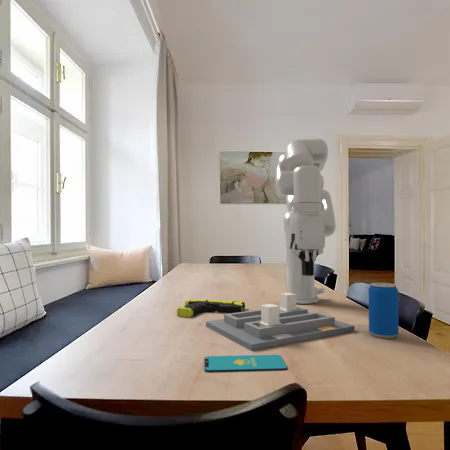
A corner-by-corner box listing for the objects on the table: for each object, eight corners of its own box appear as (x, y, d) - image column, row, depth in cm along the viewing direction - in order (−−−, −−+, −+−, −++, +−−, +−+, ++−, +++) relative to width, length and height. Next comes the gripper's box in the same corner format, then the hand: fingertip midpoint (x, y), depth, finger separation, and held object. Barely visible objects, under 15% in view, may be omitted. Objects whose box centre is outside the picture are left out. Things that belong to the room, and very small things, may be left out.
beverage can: (398, 333, 90) (398, 283, 90) (398, 340, 84) (398, 287, 84) (369, 330, 92) (369, 281, 92) (367, 337, 87) (367, 285, 87)
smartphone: (288, 367, 67) (204, 369, 66) (288, 372, 67) (204, 374, 66) (280, 354, 74) (204, 356, 73) (280, 358, 74) (204, 360, 73)
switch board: (297, 312, 111) (296, 302, 111) (354, 330, 92) (354, 317, 92) (205, 326, 97) (205, 313, 97) (251, 350, 78) (251, 335, 78)
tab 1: (273, 327, 90) (273, 303, 90) (281, 330, 87) (281, 305, 87) (259, 329, 88) (259, 305, 88) (267, 333, 85) (266, 307, 85)
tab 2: (290, 313, 105) (290, 292, 105) (297, 315, 102) (297, 294, 102) (278, 314, 103) (278, 293, 103) (285, 317, 100) (285, 295, 100)
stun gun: (238, 311, 104) (245, 300, 119) (172, 308, 108) (187, 298, 122) (238, 321, 104) (245, 309, 119) (172, 318, 108) (187, 307, 122)
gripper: (318, 211, 112) (318, 273, 112) (277, 210, 105) (278, 275, 105) (336, 210, 106) (337, 275, 105) (294, 208, 99) (295, 278, 98)
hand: (307, 275), depth 105 cm, fingers closed
